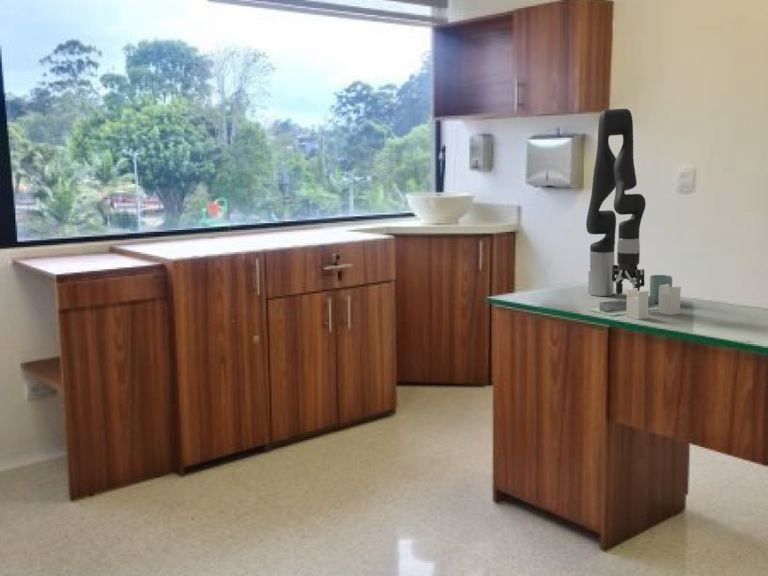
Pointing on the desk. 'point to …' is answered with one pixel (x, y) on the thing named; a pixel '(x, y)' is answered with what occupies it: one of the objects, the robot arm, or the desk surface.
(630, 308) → the rack
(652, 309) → the mat
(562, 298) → the desk surface
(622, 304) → the bar
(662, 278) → the cup
